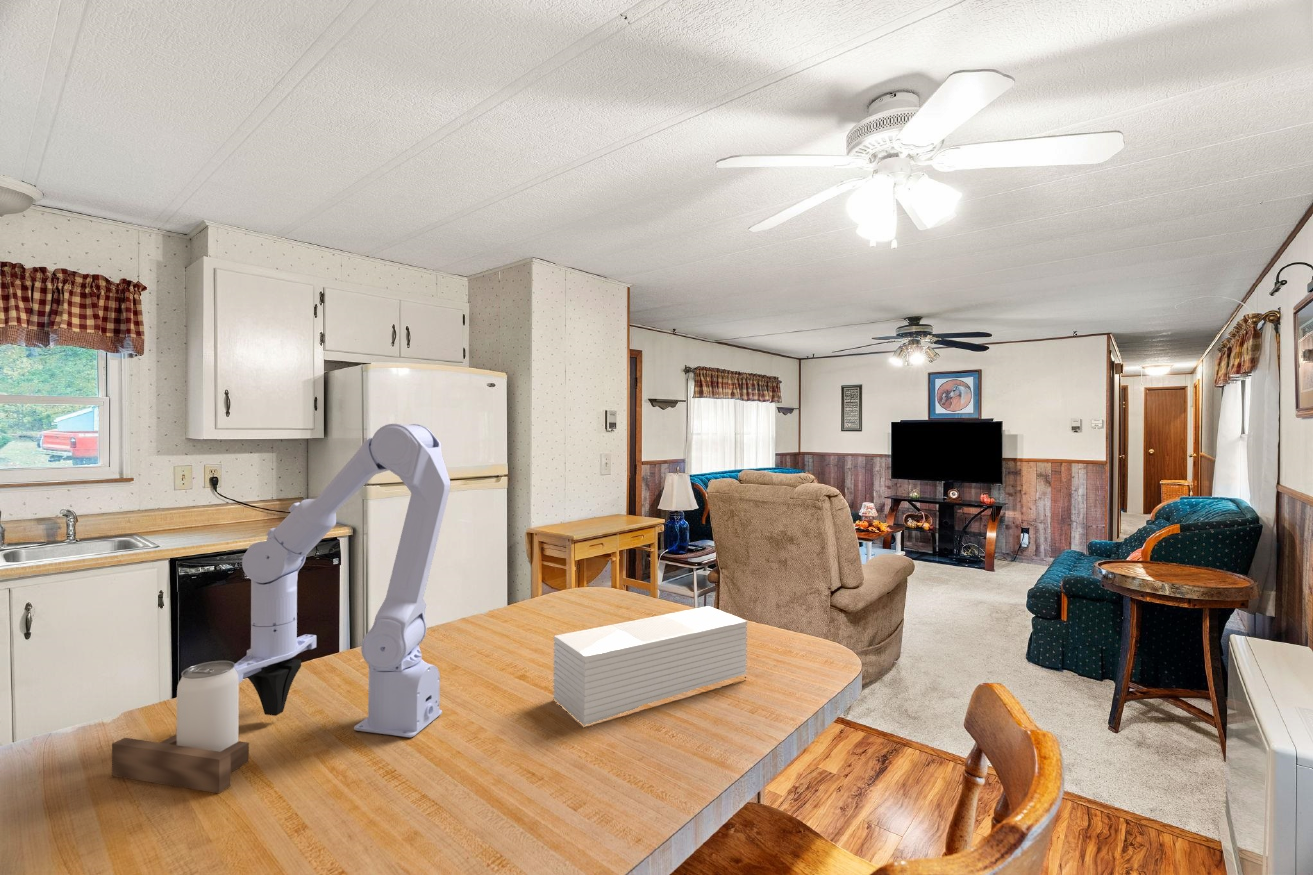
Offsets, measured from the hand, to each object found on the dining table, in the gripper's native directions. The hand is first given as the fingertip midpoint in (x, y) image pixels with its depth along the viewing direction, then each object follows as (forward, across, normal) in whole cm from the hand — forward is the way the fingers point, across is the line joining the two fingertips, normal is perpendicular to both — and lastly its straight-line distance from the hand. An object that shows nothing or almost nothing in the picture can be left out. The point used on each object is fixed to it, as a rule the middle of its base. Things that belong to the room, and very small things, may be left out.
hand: (273, 713), depth 90 cm
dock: (+1, +13, 0) cm, 13 cm away
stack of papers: (+2, -24, +52) cm, 57 cm away
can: (+2, +11, 0) cm, 11 cm away
